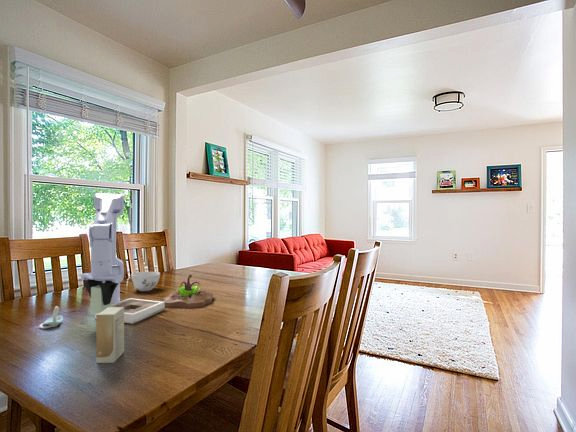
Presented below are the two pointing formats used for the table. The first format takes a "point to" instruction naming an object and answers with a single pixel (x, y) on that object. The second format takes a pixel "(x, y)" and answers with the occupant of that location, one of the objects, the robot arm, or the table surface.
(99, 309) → the peg
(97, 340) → the skincare box
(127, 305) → the hole plate
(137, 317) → the tray
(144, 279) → the teacup
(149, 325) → the table surface
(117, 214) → the robot arm
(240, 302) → the table surface
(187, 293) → the plant
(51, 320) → the pacifier
